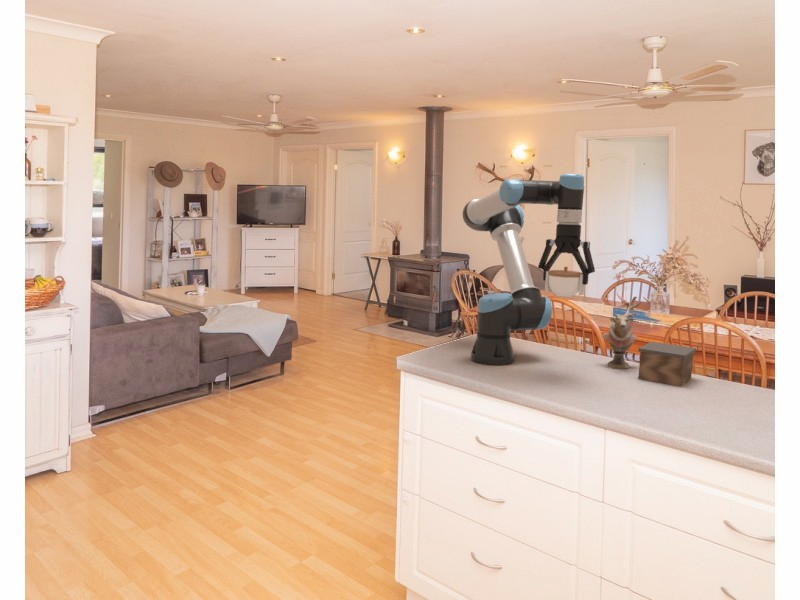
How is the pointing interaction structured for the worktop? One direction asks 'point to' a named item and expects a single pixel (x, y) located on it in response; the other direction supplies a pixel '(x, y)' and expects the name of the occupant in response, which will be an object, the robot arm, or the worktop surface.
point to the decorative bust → (621, 336)
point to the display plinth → (666, 363)
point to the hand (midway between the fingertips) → (564, 292)
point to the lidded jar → (564, 282)
